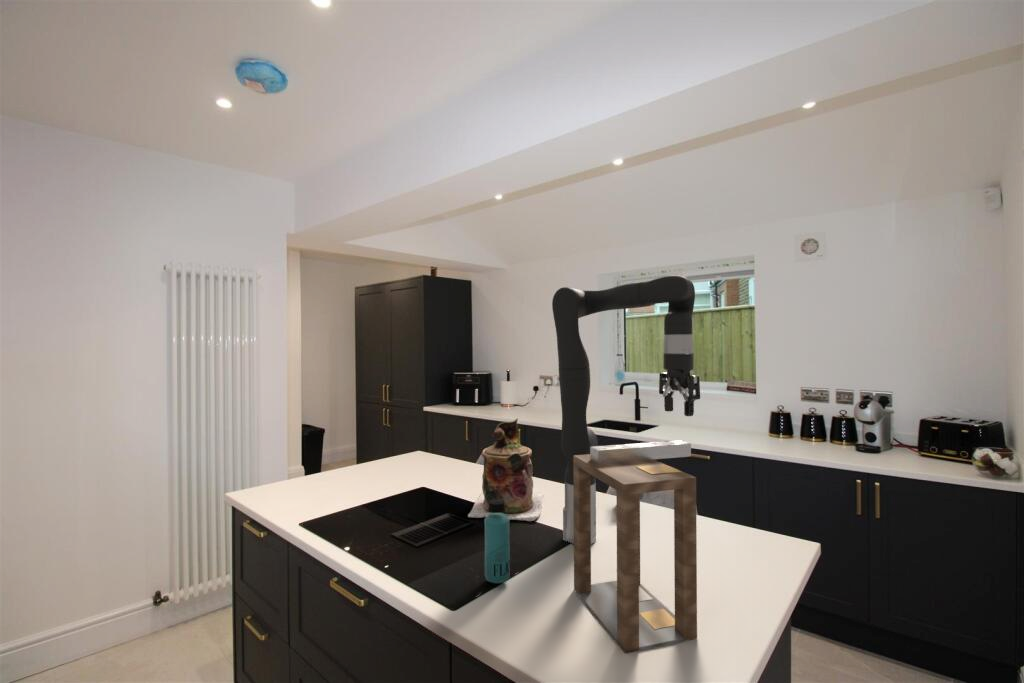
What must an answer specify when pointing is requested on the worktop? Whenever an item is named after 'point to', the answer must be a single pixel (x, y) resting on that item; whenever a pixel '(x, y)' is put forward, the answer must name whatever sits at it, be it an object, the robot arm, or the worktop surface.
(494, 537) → the beverage bottle
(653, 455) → the gray rectangular block
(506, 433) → the cookie jar
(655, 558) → the worktop surface
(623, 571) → the switch shelf
